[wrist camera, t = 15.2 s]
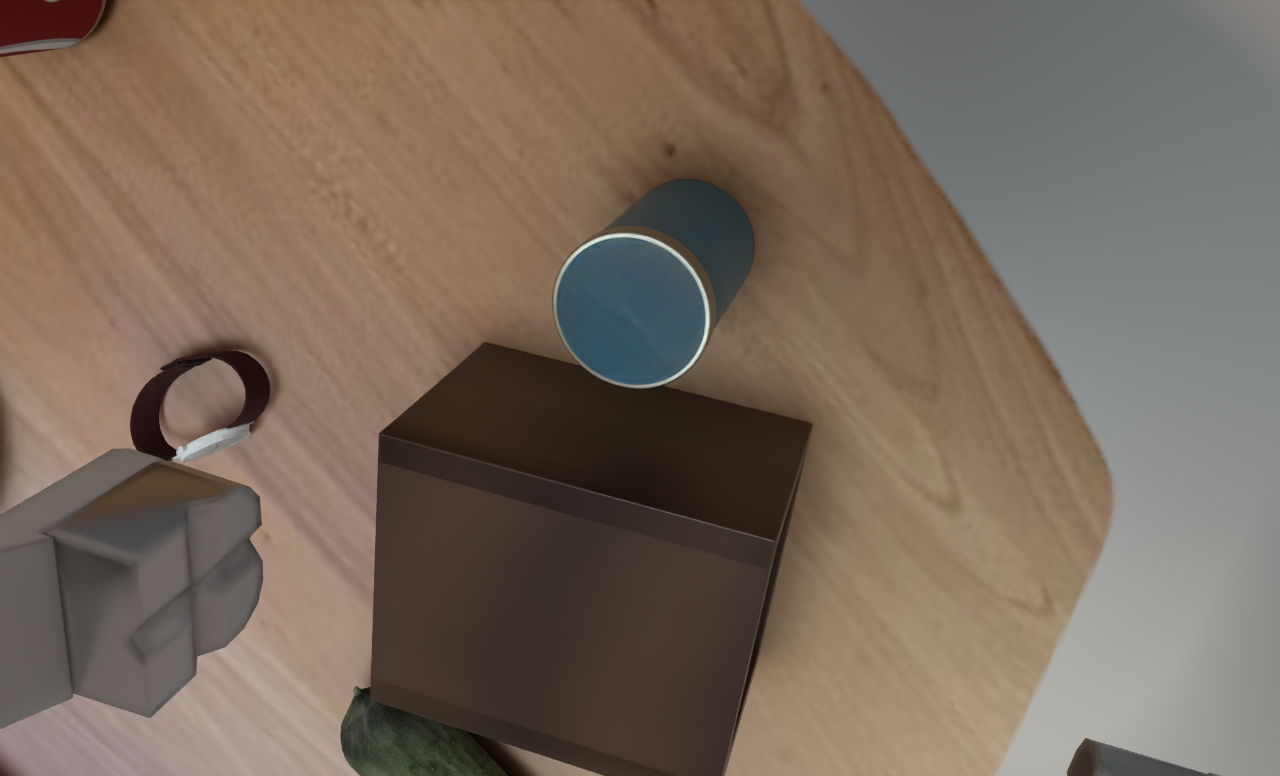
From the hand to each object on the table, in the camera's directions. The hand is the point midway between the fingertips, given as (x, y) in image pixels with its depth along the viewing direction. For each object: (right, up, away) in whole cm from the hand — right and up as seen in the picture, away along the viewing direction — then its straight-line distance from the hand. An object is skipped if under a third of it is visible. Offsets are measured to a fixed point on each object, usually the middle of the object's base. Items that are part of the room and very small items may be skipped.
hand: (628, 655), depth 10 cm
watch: (-20, +2, +40) cm, 44 cm away
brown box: (-1, -3, +36) cm, 36 cm away
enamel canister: (+2, +8, +30) cm, 31 cm away
